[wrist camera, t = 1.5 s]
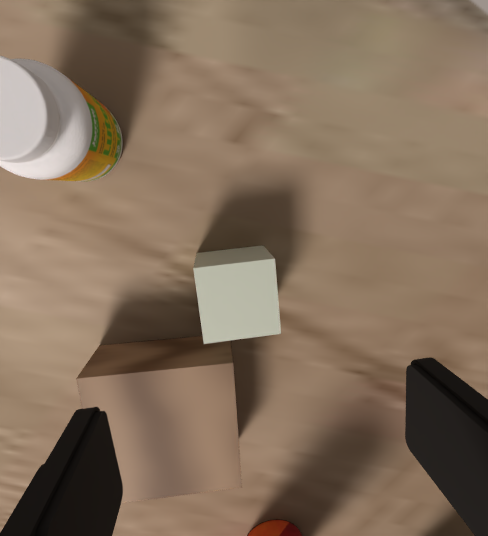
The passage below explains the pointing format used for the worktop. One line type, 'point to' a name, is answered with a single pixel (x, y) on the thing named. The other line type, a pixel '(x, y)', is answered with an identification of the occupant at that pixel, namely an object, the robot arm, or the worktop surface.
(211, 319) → the sage block
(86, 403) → the walnut block
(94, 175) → the supplement bottle
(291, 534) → the paper cup
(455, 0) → the worktop surface
